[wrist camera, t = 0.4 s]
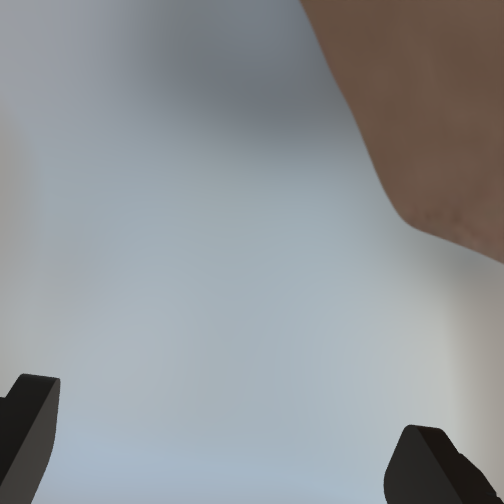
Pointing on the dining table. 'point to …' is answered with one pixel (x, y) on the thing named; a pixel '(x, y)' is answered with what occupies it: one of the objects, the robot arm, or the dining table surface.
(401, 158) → the dining table surface
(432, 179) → the dining table surface
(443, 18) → the dining table surface
